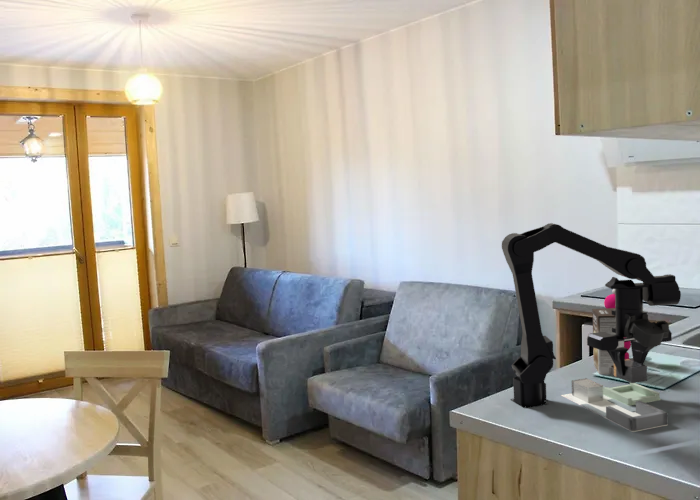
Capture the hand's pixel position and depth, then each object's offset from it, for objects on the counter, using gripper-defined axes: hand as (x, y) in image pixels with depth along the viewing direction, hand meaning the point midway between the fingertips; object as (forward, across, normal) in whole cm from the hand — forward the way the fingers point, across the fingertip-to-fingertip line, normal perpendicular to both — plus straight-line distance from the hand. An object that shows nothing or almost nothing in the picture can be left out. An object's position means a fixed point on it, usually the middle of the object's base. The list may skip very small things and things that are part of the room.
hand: (629, 374), depth 144 cm
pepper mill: (+6, +18, +27) cm, 33 cm away
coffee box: (+6, +9, +19) cm, 22 cm away
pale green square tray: (+6, 0, 0) cm, 6 cm away
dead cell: (+5, -9, +4) cm, 11 cm away
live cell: (+1, 0, 0) cm, 1 cm away
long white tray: (+6, -9, -4) cm, 12 cm away
